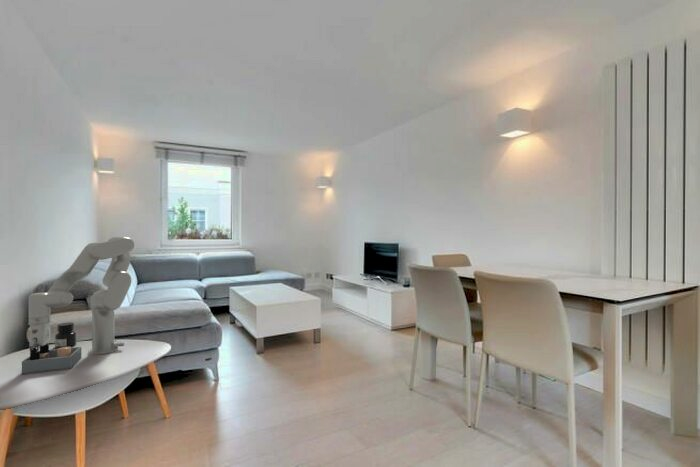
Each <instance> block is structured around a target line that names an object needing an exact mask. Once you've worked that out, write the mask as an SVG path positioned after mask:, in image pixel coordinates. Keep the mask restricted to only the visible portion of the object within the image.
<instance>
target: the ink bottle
mask: <svg viewBox="0 0 700 467" xmlns="http://www.w3.org/2000/svg"><path fill="white" fill-rule="evenodd" d="M74 325H75V324H74V322H71V321H70V322H63V323H59V324H57V333H56V334H55V336H54V347H55V348H56V349H58V348H61V347H71V348H72V347H73V346H76V344H77V332H76V331H74V329H75V328H74V327H75V326H74ZM55 348H54V349H55Z"/></svg>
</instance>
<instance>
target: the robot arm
mask: <svg viewBox="0 0 700 467" xmlns="http://www.w3.org/2000/svg"><path fill="white" fill-rule="evenodd" d="M134 248H135V242H134V240H133V239H132V238H130V237H127V236H113V237H111V238H109V239H108V241H103V242H91V243H88V244H87V245H85V247H84V248H83V249H82V250H81V252H80V253H79V255H78V256H77V257H76V259H75V260H74V261H73V263H72V264H71V265H70V267H69V268H68V269H66V270H65V271H64V272H63V273H62V274H61V275H60V276H59V277H58V278H57V279H56V280H55V281H54V282H53V283H52V285H51V286H50V287H49V289H48V290H47V292H35V293H31V294H29V296H28V326H30V328H29V339H28V341H29V345H28V346H29V356H30V360H38V359H40V354H41V353H49V350H50V345H49V344H50V342H51V340H52V331H51V330H52V329H51V318H52V317H51V316H52V315H51V312H52V311H51V308H63V307H67V306H69V305H70V304H72V303H73V301H74V295H73V294H72V293H71V292H69V291H70V289H71V288H72V287H73V286H74V285H75V284H76V283H78V282H79V281H81V280H84V279H86V278H87V277H88V276H89V275H90V274H91V273H92V271H93V269H94V268H95V267H96V265H97V264H98V262H99V261H104V260H108V259H111V261H110V263H109V266H108V268H107V270H106V272H105V274H104V275H103V278H102V284H103V286H104V287H106V288H107V289H100V290H97V291H95V292H94V293H93V294H92V295H91V298H90V301H89V302H90V308H91V309H90V310H91V348H90V349H88V353H87V354H88V355H91V356H93V355H94V356H98V355H99V356H100V355H101V356H102V355H106V354H110V353H113V352H115V351H116V352H117V350H119V347H125V342H124V341H117V339H115V336H116V334H115V331H116V330H115V326H116V324H115V322H116V321H115V320H116V319H115V317H116V316H115V315H116V314H115V310H117V309H119V308H120V307H121V306H122V304H123V303H124V301H125V298H126V297H127V294H128V292H129V290H130V287H131V286H132V285H131V284H132V276H131V275H130V273H128V272H127V271H128V269H129V267H130V264H131V254H130V252H132V251H133V250H134ZM39 351H40V352H39Z"/></svg>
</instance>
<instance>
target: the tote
mask: <svg viewBox="0 0 700 467" xmlns="http://www.w3.org/2000/svg"><path fill="white" fill-rule="evenodd" d="M57 349H58V348H56V349H55V348H54V349H49V358H47V359H38V360H30V355H29V356H27V357H26V358H25V359H23V360H22V361H21V375H29V374H31V375H32V374H38V373H45V372H46V373H47V372H55V371H56V372H57V371H63V370H71V369H72V368H73V367H74V366H76V365H77V363H78V362H79V361H80V360H82V346H75V347H73V346H72V347H71V355H70V356H66V357H57ZM39 352H40V350H39Z"/></svg>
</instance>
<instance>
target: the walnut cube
mask: <svg viewBox="0 0 700 467" xmlns="http://www.w3.org/2000/svg"><path fill="white" fill-rule="evenodd" d="M47 358H49V353H41V354H40V359H47Z"/></svg>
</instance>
